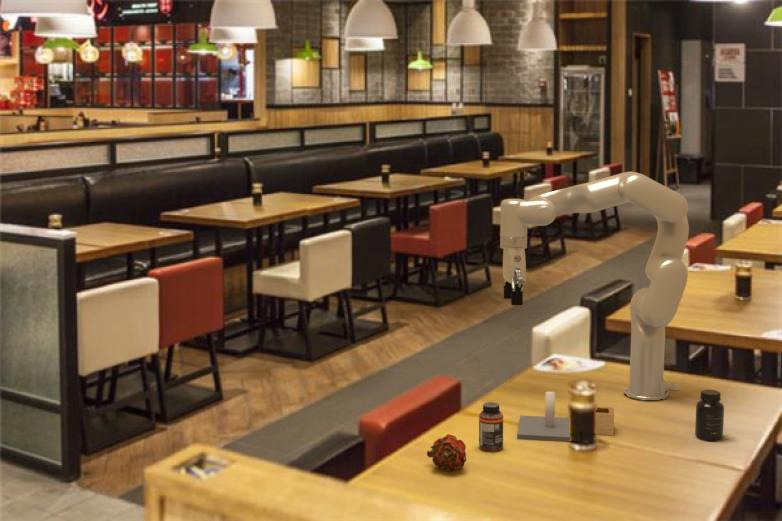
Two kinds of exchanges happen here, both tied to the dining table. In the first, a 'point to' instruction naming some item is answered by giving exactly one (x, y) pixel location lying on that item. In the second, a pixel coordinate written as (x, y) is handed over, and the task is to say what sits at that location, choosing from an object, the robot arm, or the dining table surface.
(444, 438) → the dragon fruit
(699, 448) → the dining table surface
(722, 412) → the supplement bottle
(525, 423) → the shaft block
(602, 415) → the collar
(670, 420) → the dining table surface
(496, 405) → the supplement bottle
